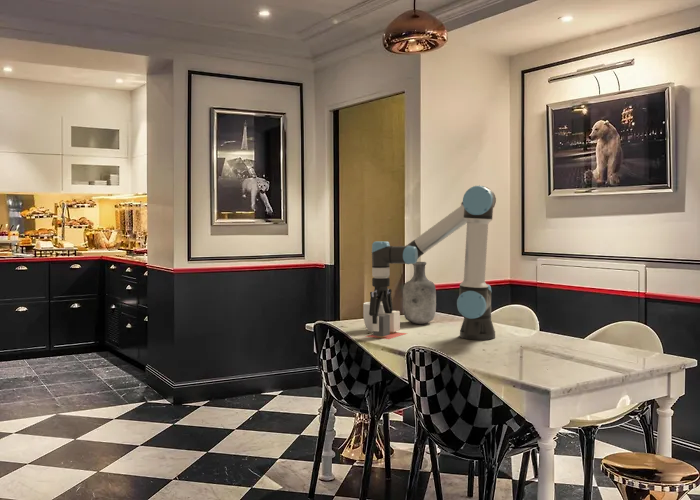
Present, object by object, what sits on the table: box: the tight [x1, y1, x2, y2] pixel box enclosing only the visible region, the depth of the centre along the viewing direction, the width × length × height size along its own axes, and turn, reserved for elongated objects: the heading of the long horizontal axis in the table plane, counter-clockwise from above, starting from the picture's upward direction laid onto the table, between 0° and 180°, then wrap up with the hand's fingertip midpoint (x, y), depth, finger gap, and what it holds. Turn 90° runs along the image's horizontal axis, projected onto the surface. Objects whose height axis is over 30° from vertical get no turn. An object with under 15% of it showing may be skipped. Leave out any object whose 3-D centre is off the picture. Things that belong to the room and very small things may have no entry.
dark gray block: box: [372, 314, 390, 336], centre depth 295 cm, size 5×5×9 cm
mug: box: [362, 301, 385, 333], centre depth 313 cm, size 15×11×13 cm
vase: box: [402, 261, 437, 325], centre depth 332 cm, size 16×16×30 cm
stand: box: [365, 310, 408, 340], centre depth 300 cm, size 12×17×10 cm
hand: (381, 329), depth 295 cm, fingers open, 8 cm apart
